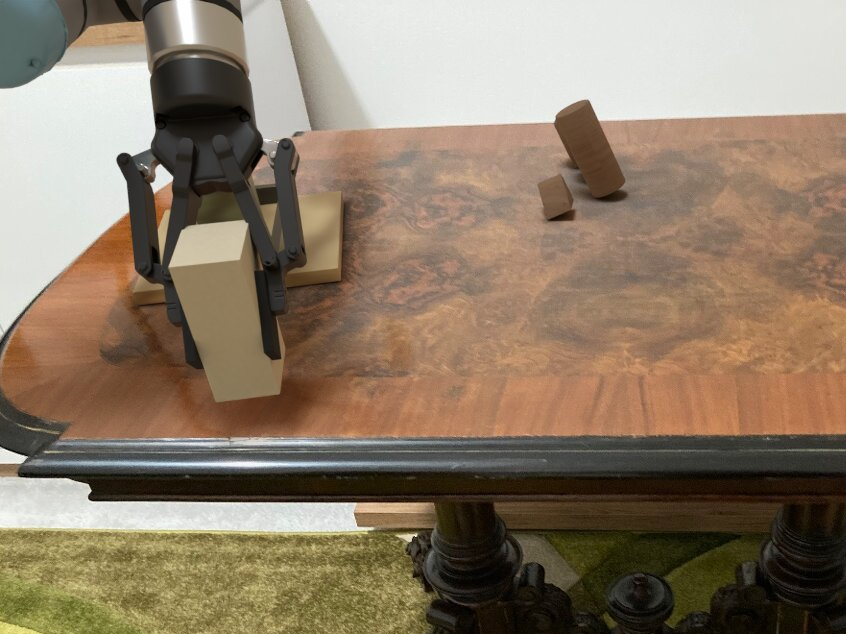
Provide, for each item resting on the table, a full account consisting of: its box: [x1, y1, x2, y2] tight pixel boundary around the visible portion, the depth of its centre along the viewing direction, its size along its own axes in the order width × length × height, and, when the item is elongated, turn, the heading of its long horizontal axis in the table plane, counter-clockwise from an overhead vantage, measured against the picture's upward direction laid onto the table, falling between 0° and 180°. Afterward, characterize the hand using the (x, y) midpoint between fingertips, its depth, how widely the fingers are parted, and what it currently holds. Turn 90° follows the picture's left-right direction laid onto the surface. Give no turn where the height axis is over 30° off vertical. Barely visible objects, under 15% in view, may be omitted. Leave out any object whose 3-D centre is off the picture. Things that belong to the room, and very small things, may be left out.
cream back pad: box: [168, 220, 286, 403], centre depth 73 cm, size 5×7×12 cm
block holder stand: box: [132, 173, 345, 306], centre depth 97 cm, size 20×20×14 cm
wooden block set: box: [536, 99, 626, 220], centre depth 108 cm, size 18×9×10 cm, turn 176°
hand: (234, 360), depth 71 cm, fingers closed on cream back pad, 5 cm apart
